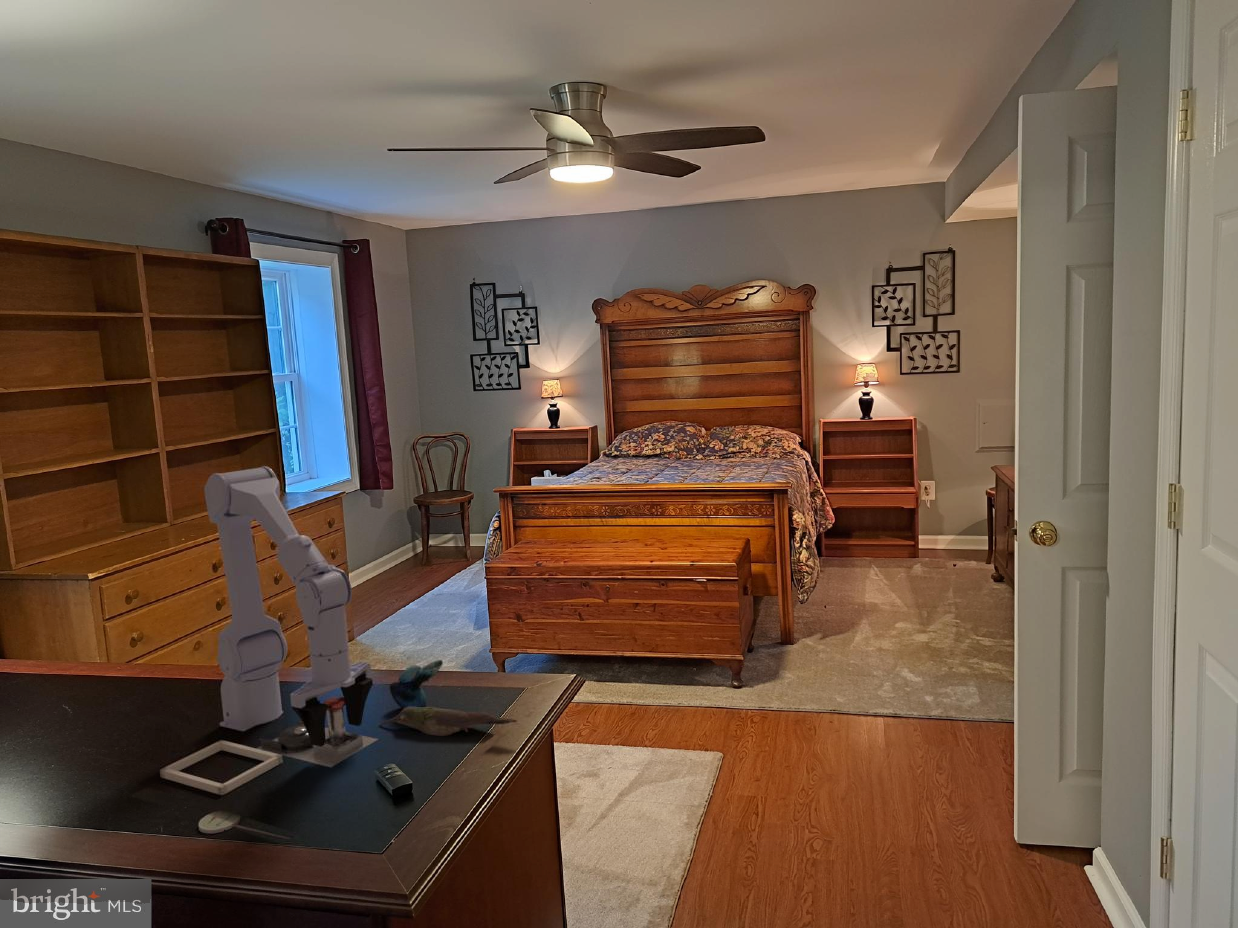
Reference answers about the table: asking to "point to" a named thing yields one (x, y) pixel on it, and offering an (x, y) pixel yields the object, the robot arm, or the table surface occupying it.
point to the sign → (224, 823)
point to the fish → (413, 685)
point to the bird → (443, 720)
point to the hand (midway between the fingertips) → (337, 734)
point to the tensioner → (314, 746)
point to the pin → (336, 720)
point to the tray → (221, 789)
